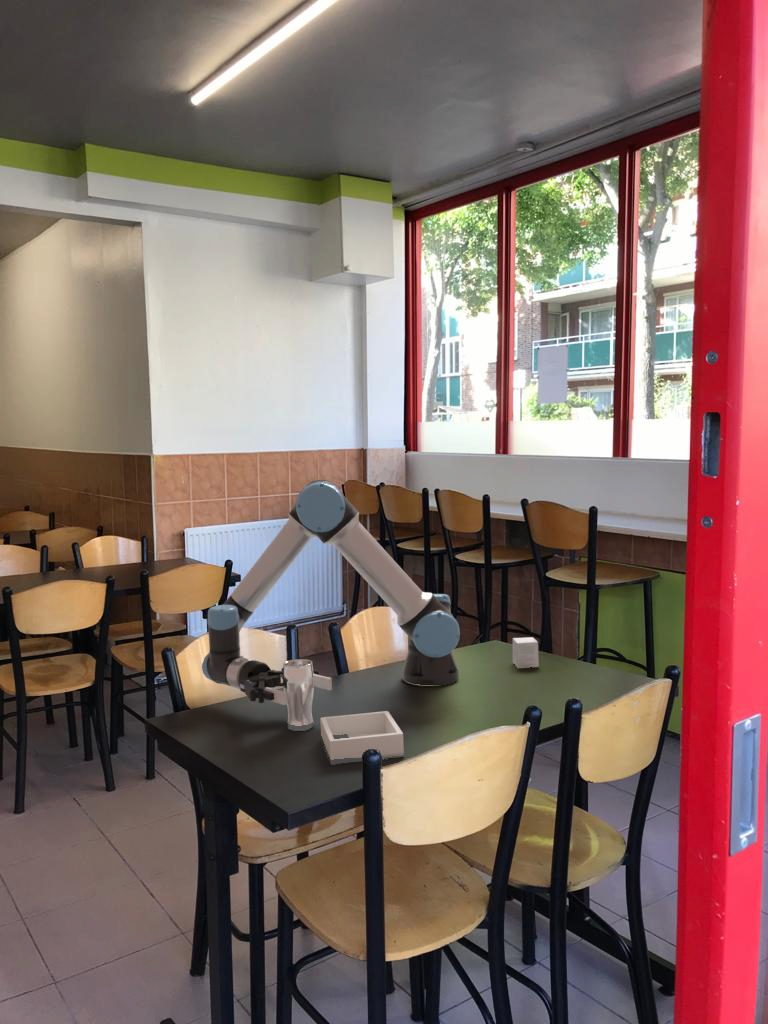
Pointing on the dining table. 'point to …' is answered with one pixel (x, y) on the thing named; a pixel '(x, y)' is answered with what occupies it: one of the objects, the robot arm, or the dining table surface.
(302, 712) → the beer glass
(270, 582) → the robot arm
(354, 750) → the tote
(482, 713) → the dining table surface
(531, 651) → the product box
